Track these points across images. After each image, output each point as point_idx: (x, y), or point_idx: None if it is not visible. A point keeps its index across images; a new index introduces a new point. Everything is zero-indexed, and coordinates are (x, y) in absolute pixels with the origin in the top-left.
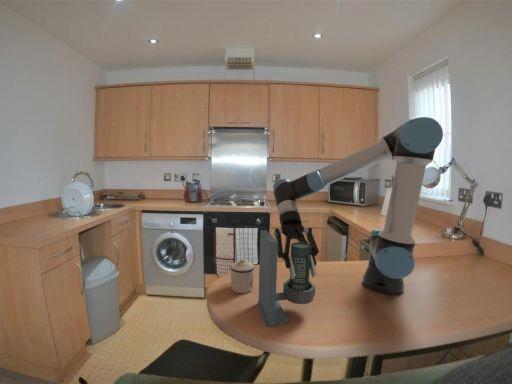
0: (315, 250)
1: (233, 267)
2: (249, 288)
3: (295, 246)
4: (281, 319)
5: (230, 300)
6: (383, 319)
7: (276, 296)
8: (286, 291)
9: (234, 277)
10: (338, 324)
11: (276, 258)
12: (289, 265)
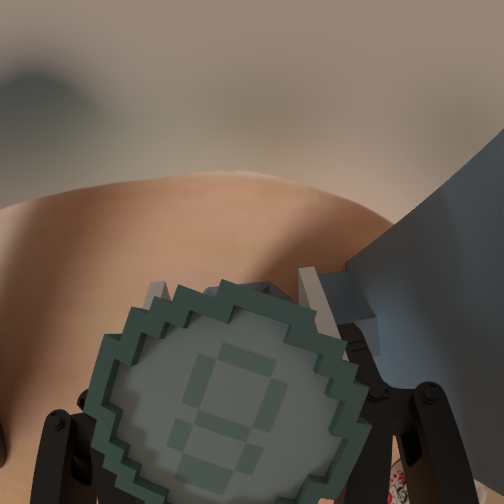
0: (66, 432)
1: (486, 487)
2: (401, 466)
3: (326, 371)
4: (326, 275)
5: None
6: (28, 272)
7: None
8: None
9: None
10: (143, 260)
11: (487, 148)
12: (340, 329)
